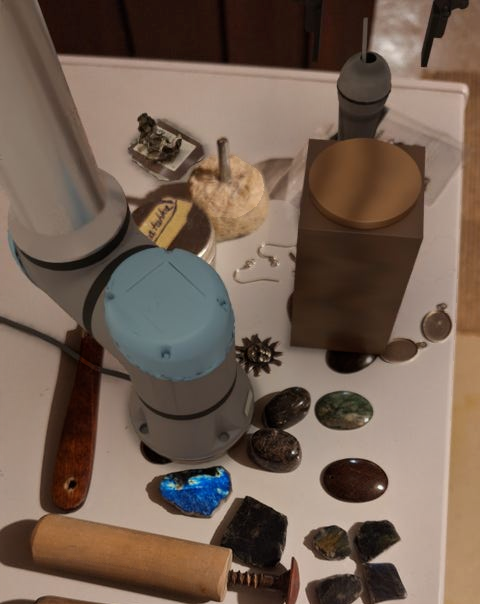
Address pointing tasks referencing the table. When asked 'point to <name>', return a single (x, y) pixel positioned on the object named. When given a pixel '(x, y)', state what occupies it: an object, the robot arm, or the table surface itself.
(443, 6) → the robot arm
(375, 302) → the walnut stand
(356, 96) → the beverage cup
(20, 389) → the table surface
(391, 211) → the cork coaster
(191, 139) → the figurine on square base
